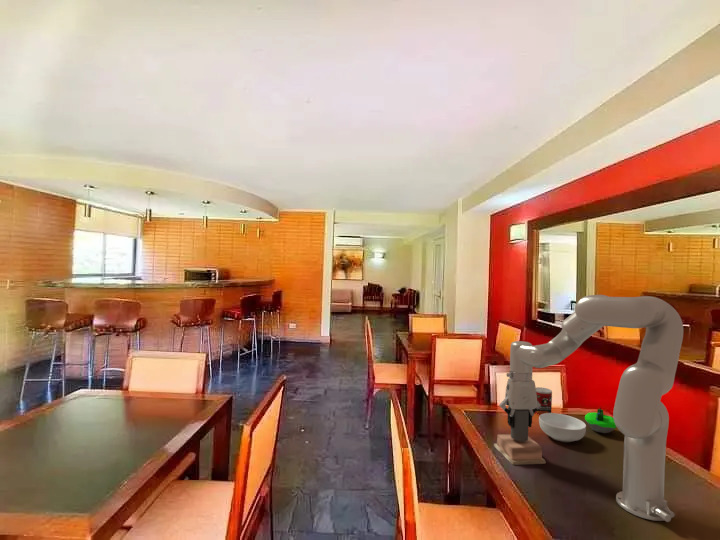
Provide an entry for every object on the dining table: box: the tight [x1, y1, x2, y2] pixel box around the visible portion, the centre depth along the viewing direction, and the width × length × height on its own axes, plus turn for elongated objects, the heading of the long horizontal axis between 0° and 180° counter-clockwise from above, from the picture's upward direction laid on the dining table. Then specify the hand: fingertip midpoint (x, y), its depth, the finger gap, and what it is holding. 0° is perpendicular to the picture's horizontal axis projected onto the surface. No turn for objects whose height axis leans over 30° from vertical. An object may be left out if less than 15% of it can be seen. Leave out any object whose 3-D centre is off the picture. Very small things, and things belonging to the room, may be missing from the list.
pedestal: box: [493, 433, 547, 466], centre depth 142 cm, size 14×12×5 cm
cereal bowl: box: [538, 412, 587, 443], centre depth 157 cm, size 17×17×7 cm
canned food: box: [534, 386, 553, 416], centre depth 184 cm, size 8×8×11 cm
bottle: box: [510, 409, 529, 441], centre depth 142 cm, size 6×6×15 cm
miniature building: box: [584, 407, 617, 434], centre depth 164 cm, size 12×12×11 cm
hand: (519, 425), depth 142 cm, fingers closed on bottle, 5 cm apart
